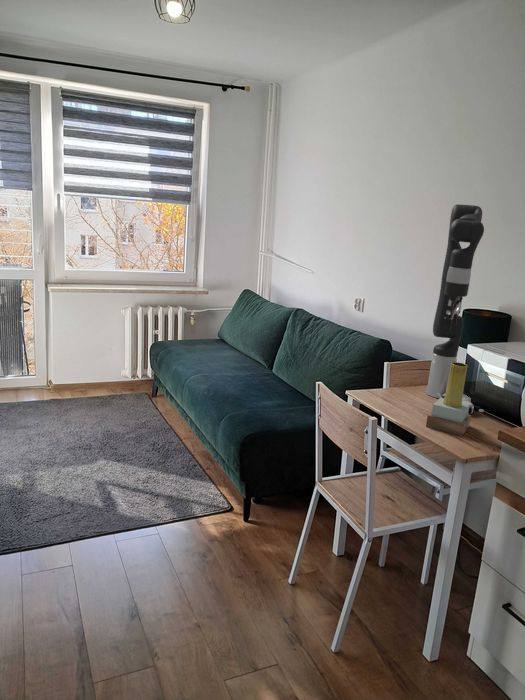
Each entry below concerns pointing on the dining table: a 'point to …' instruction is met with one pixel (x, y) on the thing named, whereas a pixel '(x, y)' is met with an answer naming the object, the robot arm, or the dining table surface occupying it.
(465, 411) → the top brick
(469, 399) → the robot toy
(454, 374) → the vase
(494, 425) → the dining table surface
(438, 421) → the bottom brick
